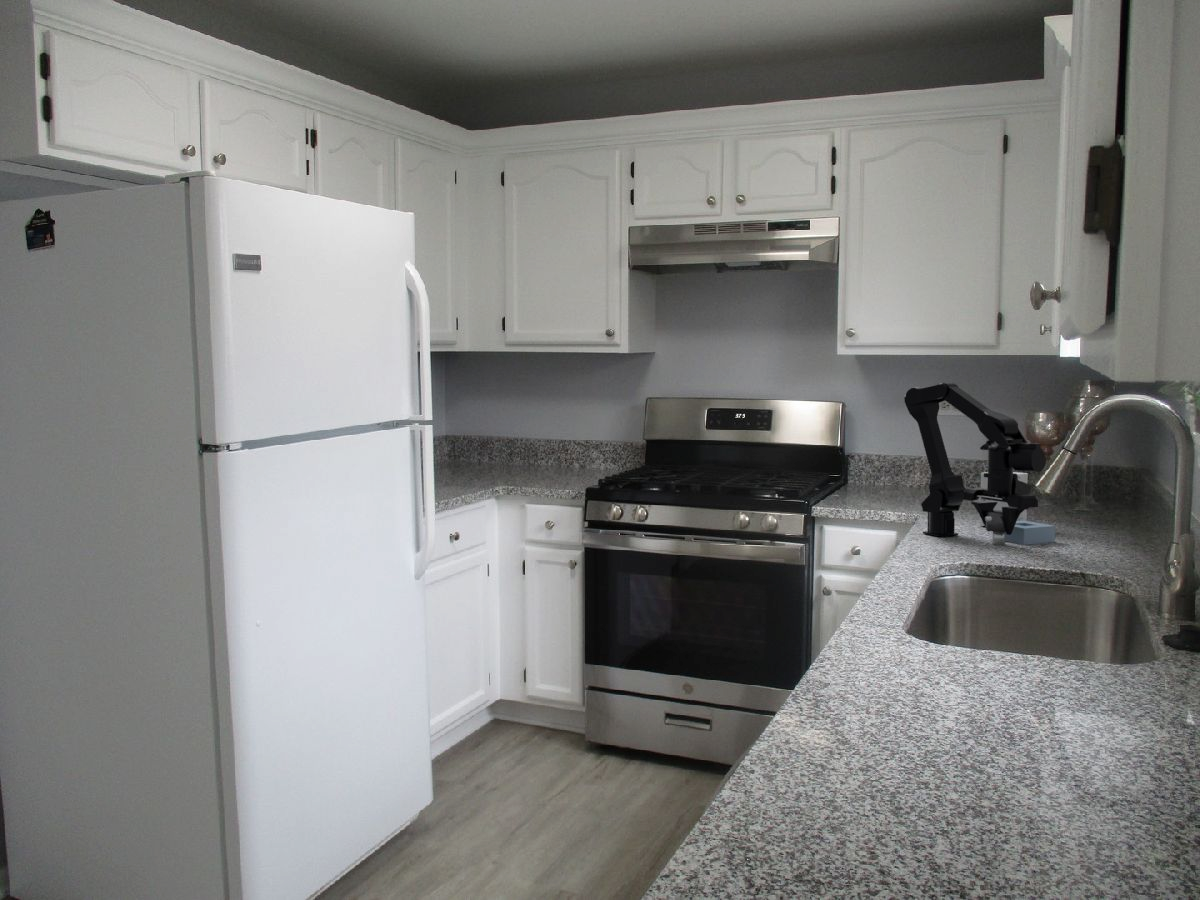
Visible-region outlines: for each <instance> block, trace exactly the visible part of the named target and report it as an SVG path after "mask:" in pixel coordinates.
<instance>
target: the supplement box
mask: <svg viewBox="0 0 1200 900" xmlns="http://www.w3.org/2000/svg"><path fill="white" fill-rule="evenodd" d="M984 473H988V471H984V472H981V474H980V488H985V489H987V484H988V478H987V477H984ZM1013 473H1015V474H1017V475H1018V480H1019V481H1022V482H1024V483H1027V484H1028V477H1029V475H1028V473H1029V472H1028V473H1026V472H1017V471H1013ZM995 496H996V495H995ZM992 501H993V500H992ZM993 502H998V503H997V504H996V506H995V507H994V509H993V510H1002V507H1008V504H1007V502H1000V501H993ZM1027 510H1028V509H1025V510H1024V511H1023V512H1022V513H1021V514H1020V515H1019V517H1018V519H1017V521H1027V515H1028V514H1027ZM980 525H981V526H980ZM979 526H980V527H983V526H985V525H984V523H983V521H982V519H981V517H980V516H979Z"/></svg>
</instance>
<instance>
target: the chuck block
mask: <svg viewBox="0 0 1200 900" xmlns="http://www.w3.org/2000/svg"><path fill="white" fill-rule="evenodd" d="M1005 542H1009V543H1012V544H1013V543H1014V544H1018V545H1025V546H1026V545H1034V544H1035V545H1037V544H1047V543H1055V542H1056V525H1052V524H1046V523H1041V522H1040V523H1039V522H1035V521H1028V520H1026V521H1016V524H1015V526H1014V529H1013V531H1012V534H1011V535H1007V534H1006V532H1005Z"/></svg>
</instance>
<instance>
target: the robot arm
mask: <svg viewBox="0 0 1200 900" xmlns="http://www.w3.org/2000/svg"><path fill="white" fill-rule="evenodd" d="M903 401H904V404H905V407H906V409H907V411H908V414H909V415H910V416H911V417H912V418H913V419H914V420H915V421H916V423H917V426H918V429H919V432H920V437H921V440H922V444H923V448H924V452H925V455H926V459H927V463H928V467H929V469H930V475H931V476H930V480H929V485H928V489H929V494H928V495H927V497H926V498H925V499H924V500H923V501H922V502H921V505H920V506H921V510H922V512H925V513H927V530H925V531H924V530H923V531H922V534H924V535H928V534H929V536H930V535H931V536H933V535H934V537H938V536H943V537H952V536H953V535H955V536H959V532H955V523H956V522H955V520H956V519H955V512H958V511H960V508H961V506H962V503H963V502H964V500H965V501H970V502H971V505H973V506H974V508H975V509H976V512H977V513H978V515H979V518H980V517H981V519H982V521H983V523H984V525H985V528H986V521H985V517H986V511H989V510H993V509H994V507H995V506H996V504H997V503H998V502H993V501H1000V502H1007V504H1008V507H1002V512H1003V518H1004V524H1005V530H1006V534H1007V535H1011V534H1012V531H1013V529H1014V526H1015V524H1016V521H1017V519H1018V517H1019V515H1020V514H1021V513H1022V512H1023V511H1024V510H1025V509H1027V510H1028V509H1030V508H1038V507H1039V499H1038V497H1037V496H1036V495H1035V494H1031V493H1032V490H1033V485H1031V484H1029V483H1028V482H1027V483H1024V482H1022V481H1019V480H1018V475H1017V474H1015V473H1013V472H1014V470H1015V471H1016V472H1017V471H1019V472H1028V473H1029V472H1031V473H1040V472H1042V471H1043V470H1044V469H1045V467H1046V464H1047V456H1046V454H1045V451H1044V450H1043V449H1042V448H1041V447H1042V444H1041V443H1040V442H1035V443H1033V442H1032V443H1028V442H1027V440H1026V438H1025V437H1024V435H1023V433H1022V432H1021V430H1020V429H1019V423H1018V421H1016V419H1014V418H1013V417H1010V416H1009V415H1005V414H1004V413H1001V412H997V411H994V410H992V409H989V408H988V407H987V406H985V404H983V403H982V402H980V401H979V400H977V399H976V398H975V397H973V396H971V395H970V394H969V393H967V392H966V391H964V390H963V389H961V388H960V387H959V386H958V385H957V384H956V383H954V382H941V383H939V384H936V385H931V386H927V387H910V389H908V390H907V391H906V394H905V395H904V397H903ZM943 402H947V403H948V404H949V405H951V406H952V407H953V408H955V409H956V410H958V411H959V412H961V413H962V414H963V415H965V416H966V417H967V418H968V419H970V420H971V421H972V422H974V423H975V424H976V425H977V428H978V430H979V432H980V433H981V434H982V435H983V436H984V437H985V439H987V440H986V441H985V443H984V444H982V445H981V446H980V447H979V449H980V450H981V451H988V452H987V472H988V473H984V472H983V473H984V477H987V478H988V484H987V489H985V488H981V487H974V488H973V487H972V488H966V487H965V485H964V478H963V477H962V475H956V474H955V473H954V472H953V471H952V469H951V465H950V461H949V458H948V454H947V450H946V446H945V443H944V439H943V434H942V432H941V429H940V424H939V421H938V415H939V412H940V403H943ZM995 495H996V496H995ZM992 500H993V501H992ZM986 531H987V532H989V531H988V530H986Z"/></svg>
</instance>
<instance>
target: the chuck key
mask: <svg viewBox="0 0 1200 900" xmlns="http://www.w3.org/2000/svg"><path fill="white" fill-rule="evenodd" d="M985 521H986V527H985V530H986V531H987V530H988V531H987V532H992V545H994V544H995V546H1006V541H1005V532H1006V530H1005V524H1004V518H1003V512H1002V510H989V511H986V517H985Z"/></svg>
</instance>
